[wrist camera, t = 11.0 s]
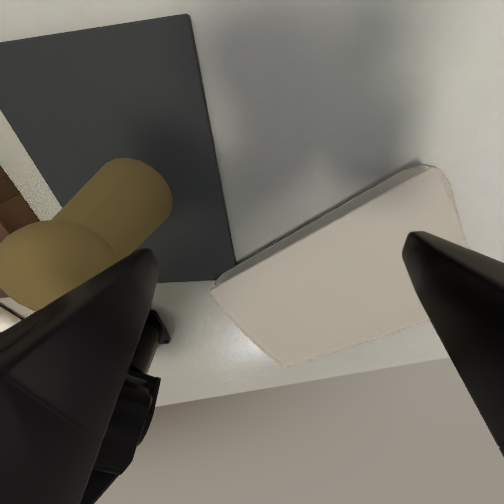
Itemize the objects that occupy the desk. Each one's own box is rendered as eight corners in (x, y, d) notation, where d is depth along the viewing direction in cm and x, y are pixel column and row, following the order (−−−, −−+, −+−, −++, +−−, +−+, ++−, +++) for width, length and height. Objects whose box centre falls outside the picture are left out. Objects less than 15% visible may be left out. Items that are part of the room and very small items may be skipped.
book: (474, 275, 25) (505, 306, 22) (281, 347, 33) (283, 376, 30) (440, 147, 17) (480, 167, 14) (202, 284, 26) (195, 314, 23)
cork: (152, 238, 23) (83, 347, 14) (86, 198, 20) (-46, 298, 12) (186, 191, 20) (124, 292, 11) (113, 139, 17) (-37, 212, 9)
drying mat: (238, 275, 26) (237, 279, 25) (113, 281, 27) (110, 285, 27) (189, 14, 14) (187, 13, 13) (-30, 48, 15) (-39, 48, 15)
